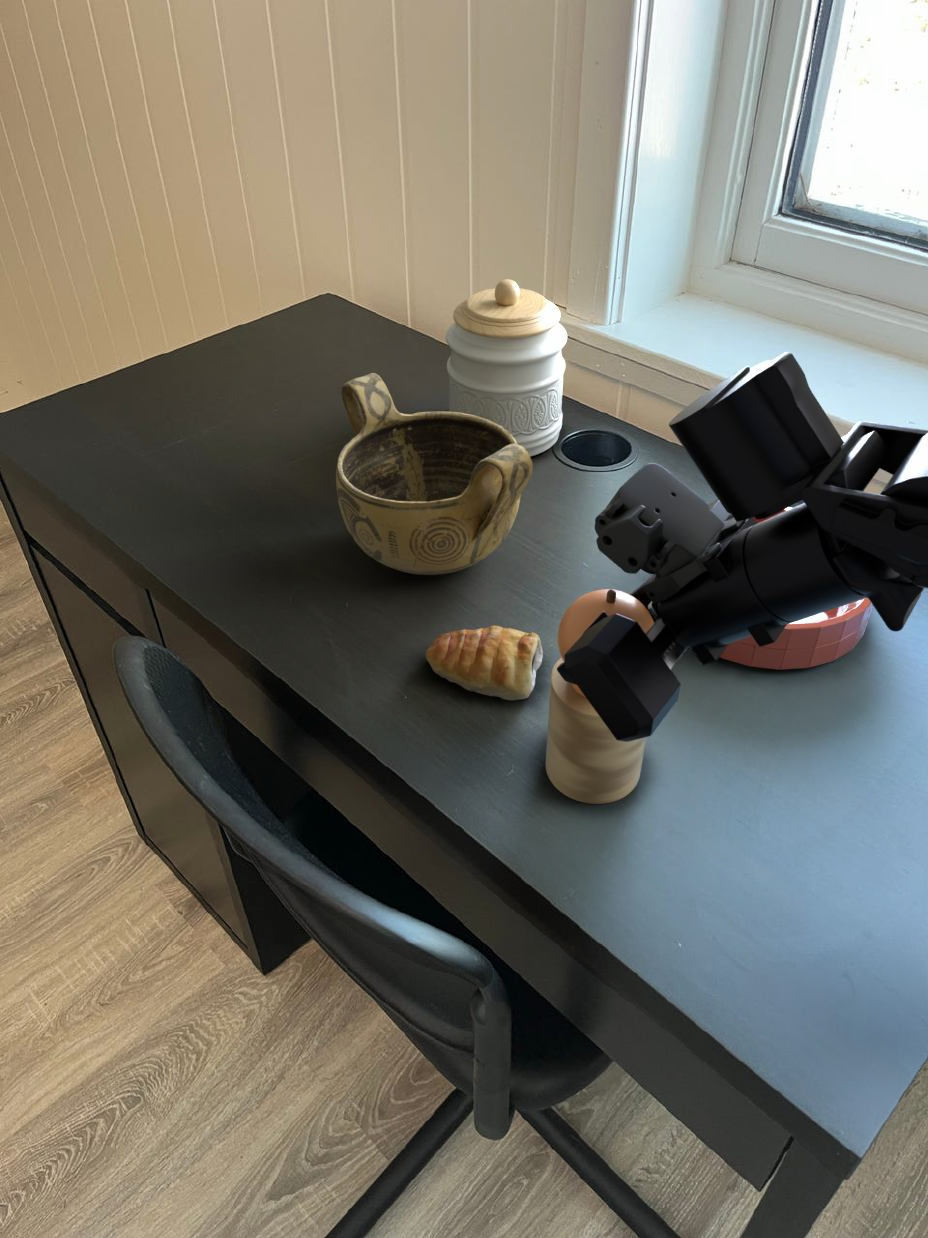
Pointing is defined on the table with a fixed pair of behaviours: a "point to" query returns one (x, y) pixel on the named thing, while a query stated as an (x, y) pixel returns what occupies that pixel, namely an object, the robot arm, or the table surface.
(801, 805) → the table surface
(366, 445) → the ceramic bowl
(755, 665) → the bowl
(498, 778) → the table surface
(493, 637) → the pastry
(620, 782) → the wooden cylinder
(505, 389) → the jar
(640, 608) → the peach
